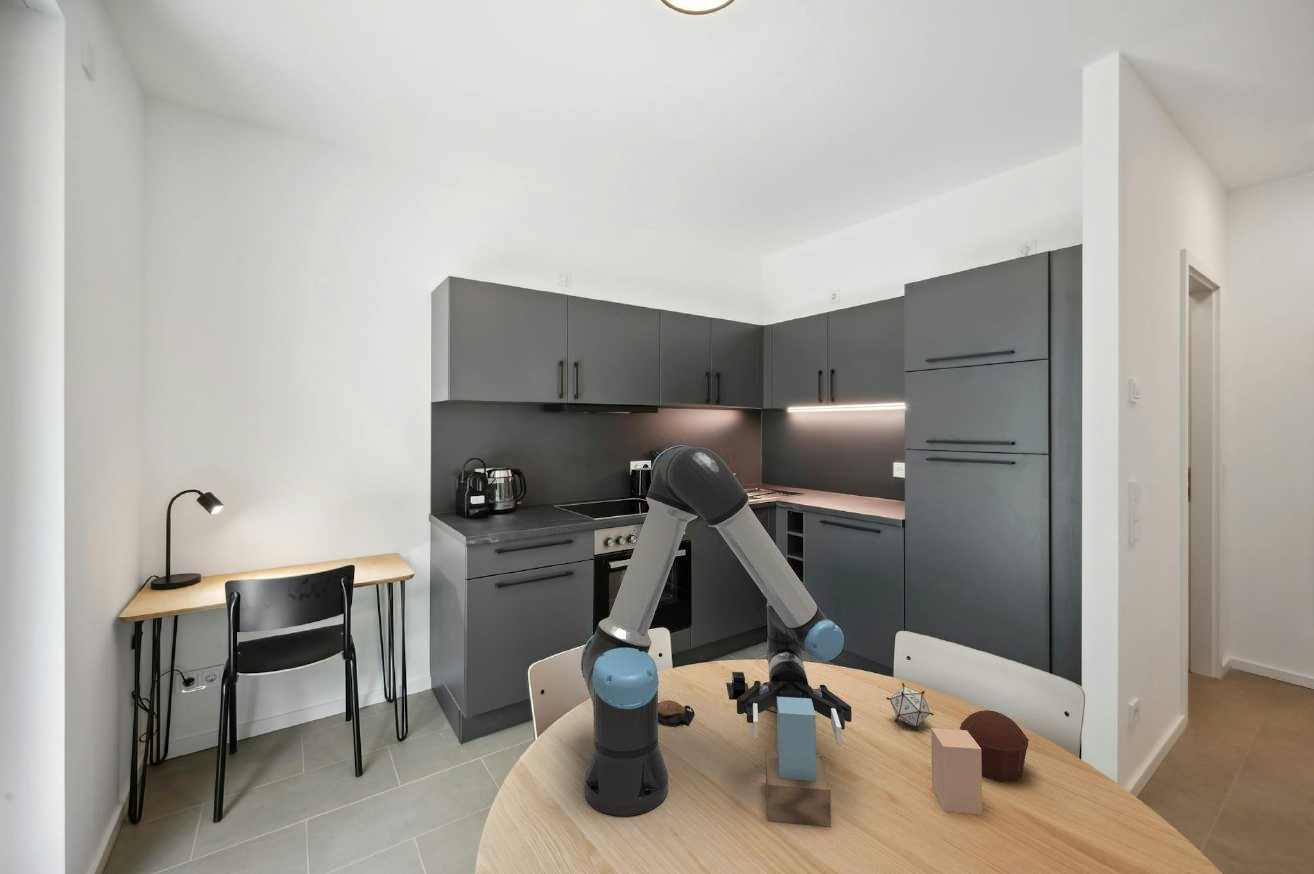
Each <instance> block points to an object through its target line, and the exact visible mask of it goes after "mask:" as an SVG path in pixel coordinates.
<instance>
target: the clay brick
mask: <svg viewBox="0 0 1314 874" xmlns="http://www.w3.org/2000/svg"><path fill="white" fill-rule="evenodd" d="M930 730H931V732H930V733H931V735H930V736H931V737H930V738H931V739H930V741H931V747H930V749H931V790H932V792H933V794H934V796H935V798H936V799H937V802H938V803H939V805H940V807H941V809H942V811H943V812H945V813H946V812H947V813H956V814H957V813H958V814H970V815H981V816H983V791H982V790H983V789H982V788H983V786H982V785H983V783H982V782H983V781H982V780H983V778H982V777H983V776H982V763H981V748H980V747H979V745H978V744H977V743H976V741H975V740H974V739H973V738H972V736H971V735H970V734H969V732H968V731H967V730H960V729H951V728H950V729H949V728H935V727H931V728H930Z"/></svg>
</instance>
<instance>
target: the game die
mask: <svg viewBox="0 0 1314 874" xmlns="http://www.w3.org/2000/svg"><path fill="white" fill-rule="evenodd" d="M901 683H902V684H901V686H902V687H900V689H899V690H898V691H897V692H896V693H894V694H893V696H891V697H888V696H887V697H885V699H886V700H887V701H890V704H891V706H892V709H893V711H894V714H895V716H896V718H895V719H894V722H898V721H901V722H903V723H906V724H907V725H910V726H912V727H914V729H915V731H917V732H919V731H918V730H919V728H918V726H919V725H920V724H922V723H923V721H925V720H926V719H927V718H928V716H935V714H934V712H930V709H929V706H928V703H927V702H926V698H925V696H924V695H925V690H922V691H921V692H920V691H917V690H915V689H912V688H910V687H907V686H905V683H904V682H901Z"/></svg>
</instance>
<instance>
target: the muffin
mask: <svg viewBox="0 0 1314 874" xmlns="http://www.w3.org/2000/svg"><path fill="white" fill-rule="evenodd" d="M959 730H967V731H968V732H969V734H970V735H971V736H972V738H973V739H974V740H975V741H976V743H977V744H978V745H979V747H980V748H981V763H982V777H983V778H985V779H991V780H994V781H997V782H1000V783H1005V782H1009V783H1010V782H1013V783H1014V782H1017V781H1018V779H1020V778H1021V777H1022V776H1023V772H1024V766H1025V761H1026V755H1027V750H1028V747H1029V738H1028V737H1027V736H1026V734H1025V733H1024V731H1022V728H1020V726H1019V725H1018V724H1017V722H1015V721H1014V720H1013V719H1012V718H1010V717H1008V716H1007V715H1005V714H1003V713H1001V712H999V711H995V710H989V709H986V710H978V711H975V712H974V713H971V714H969V715H968V716H967V717H966V718H965V719H964V720H963V721H961V722H960V726H959Z"/></svg>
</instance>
